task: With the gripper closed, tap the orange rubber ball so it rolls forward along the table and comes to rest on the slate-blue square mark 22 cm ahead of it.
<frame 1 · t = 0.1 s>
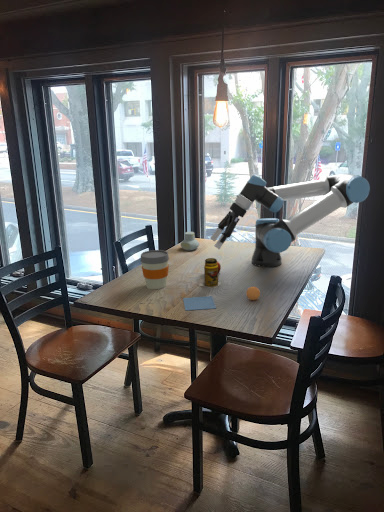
hand: (214, 243, 188), 15 cm above the table, tool tilted 35°, fingers open, 13 cm apart
reusable coffee cup: (156, 285, 182), on the table
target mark: (199, 303, 161), on the table
condiment: (209, 285, 180), on the table
fruit: (212, 274, 193), on the table
air freshener: (190, 249, 236), on the table
ball: (253, 293, 162), on the table
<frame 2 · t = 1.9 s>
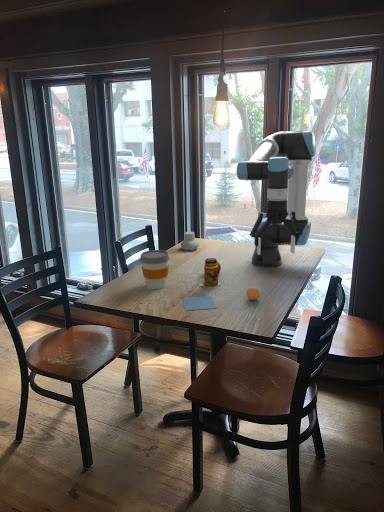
hand: (275, 253, 158), 19 cm above the table, tool pointing down, fingers open, 13 cm apart
nothing on the table moved.
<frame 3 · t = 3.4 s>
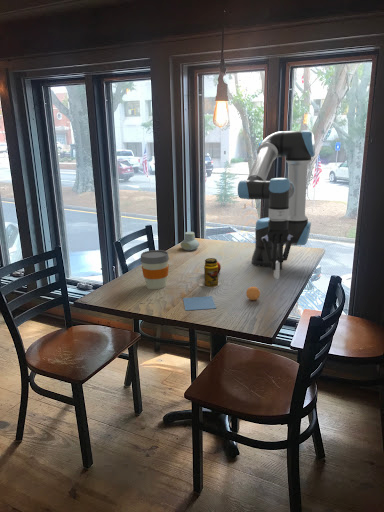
hand: (276, 277, 160), 9 cm above the table, tool pointing down, fingers closed
nothing on the table moved.
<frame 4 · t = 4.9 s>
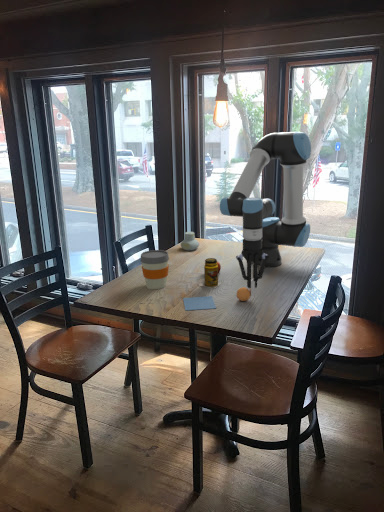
hand: (252, 295, 161), 2 cm above the table, tool pointing down, fingers closed
ball: (243, 294, 161), on the table
everything else where it was.
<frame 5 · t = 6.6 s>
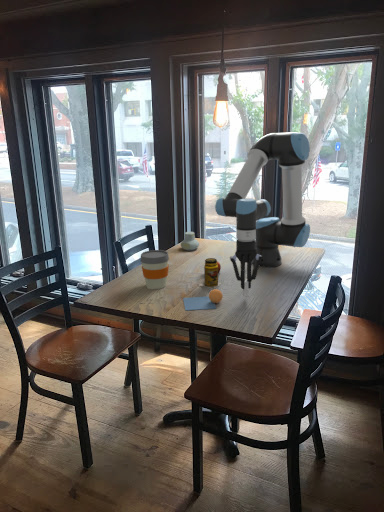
hand: (245, 295, 162), 2 cm above the table, tool pointing down, fingers closed
ball: (215, 296, 160), on the table
everything else where it was.
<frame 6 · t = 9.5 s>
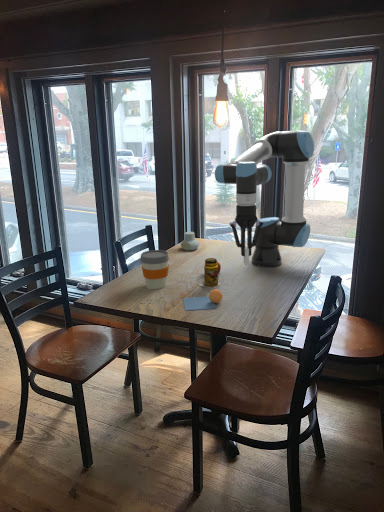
hand: (246, 263, 158), 16 cm above the table, tool pointing down, fingers closed
nothing on the table moved.
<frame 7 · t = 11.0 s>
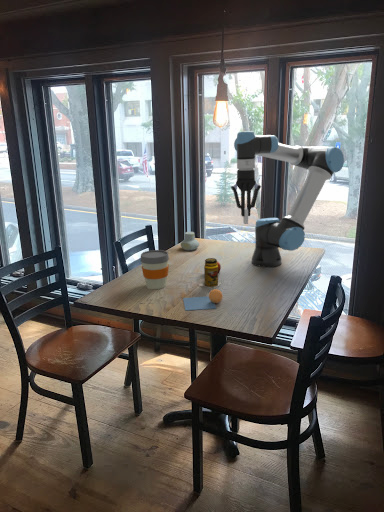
hand: (245, 223, 178), 26 cm above the table, tool pointing down, fingers closed
nothing on the table moved.
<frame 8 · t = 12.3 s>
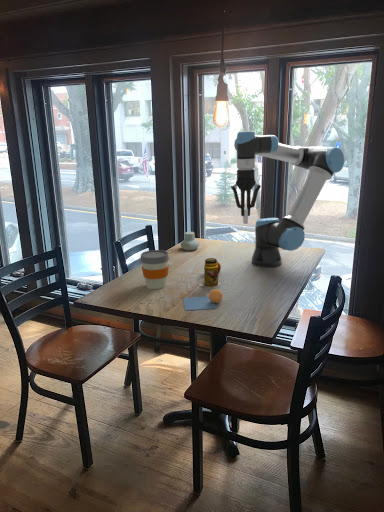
hand: (245, 223, 178), 26 cm above the table, tool pointing down, fingers closed
nothing on the table moved.
at the end: ball 6.7 cm from the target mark (horizontally); ball at rest at the end (0.0 cm/s); ball moved 15.3 cm from its start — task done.
